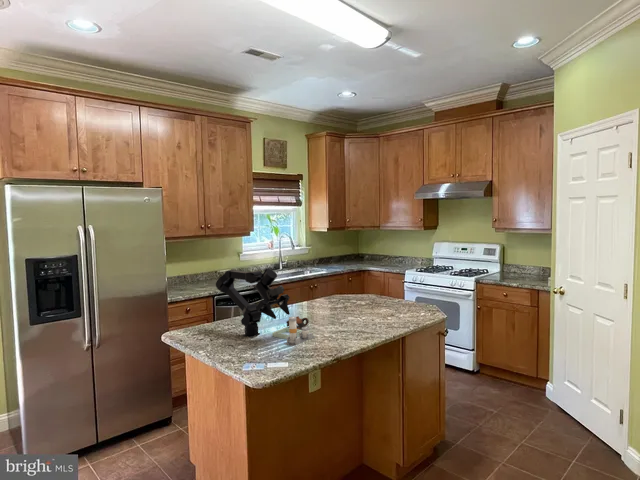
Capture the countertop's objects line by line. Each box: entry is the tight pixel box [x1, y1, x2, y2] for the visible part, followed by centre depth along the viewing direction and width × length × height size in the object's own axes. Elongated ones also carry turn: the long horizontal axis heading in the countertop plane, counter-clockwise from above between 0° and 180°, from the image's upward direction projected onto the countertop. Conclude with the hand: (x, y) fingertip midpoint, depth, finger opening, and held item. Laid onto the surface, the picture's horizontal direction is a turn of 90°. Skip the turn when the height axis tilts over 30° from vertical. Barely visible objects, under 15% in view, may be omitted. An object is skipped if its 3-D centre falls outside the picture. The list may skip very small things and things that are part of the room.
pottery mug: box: [286, 316, 310, 330], centre depth 221 cm, size 12×10×8 cm
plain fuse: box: [302, 326, 310, 339], centre depth 202 cm, size 4×4×5 cm
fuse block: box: [283, 332, 316, 347], centre depth 199 cm, size 6×17×4 cm, turn 142°
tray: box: [271, 327, 302, 340], centre depth 208 cm, size 11×11×3 cm
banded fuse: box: [288, 316, 298, 344], centre depth 195 cm, size 4×4×12 cm
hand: (282, 316), depth 199 cm, fingers open, 9 cm apart
